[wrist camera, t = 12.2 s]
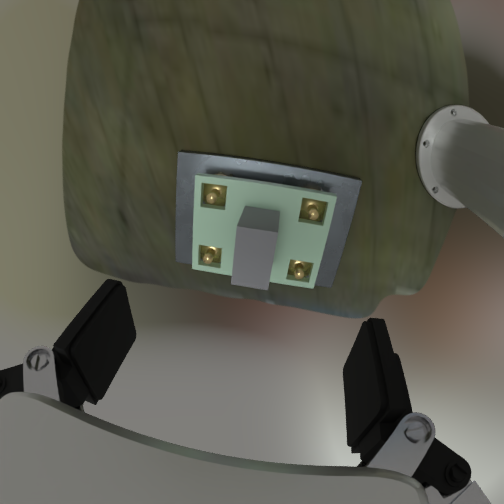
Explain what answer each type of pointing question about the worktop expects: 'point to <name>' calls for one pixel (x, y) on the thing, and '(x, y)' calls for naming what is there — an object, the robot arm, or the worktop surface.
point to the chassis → (273, 173)
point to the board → (289, 228)
